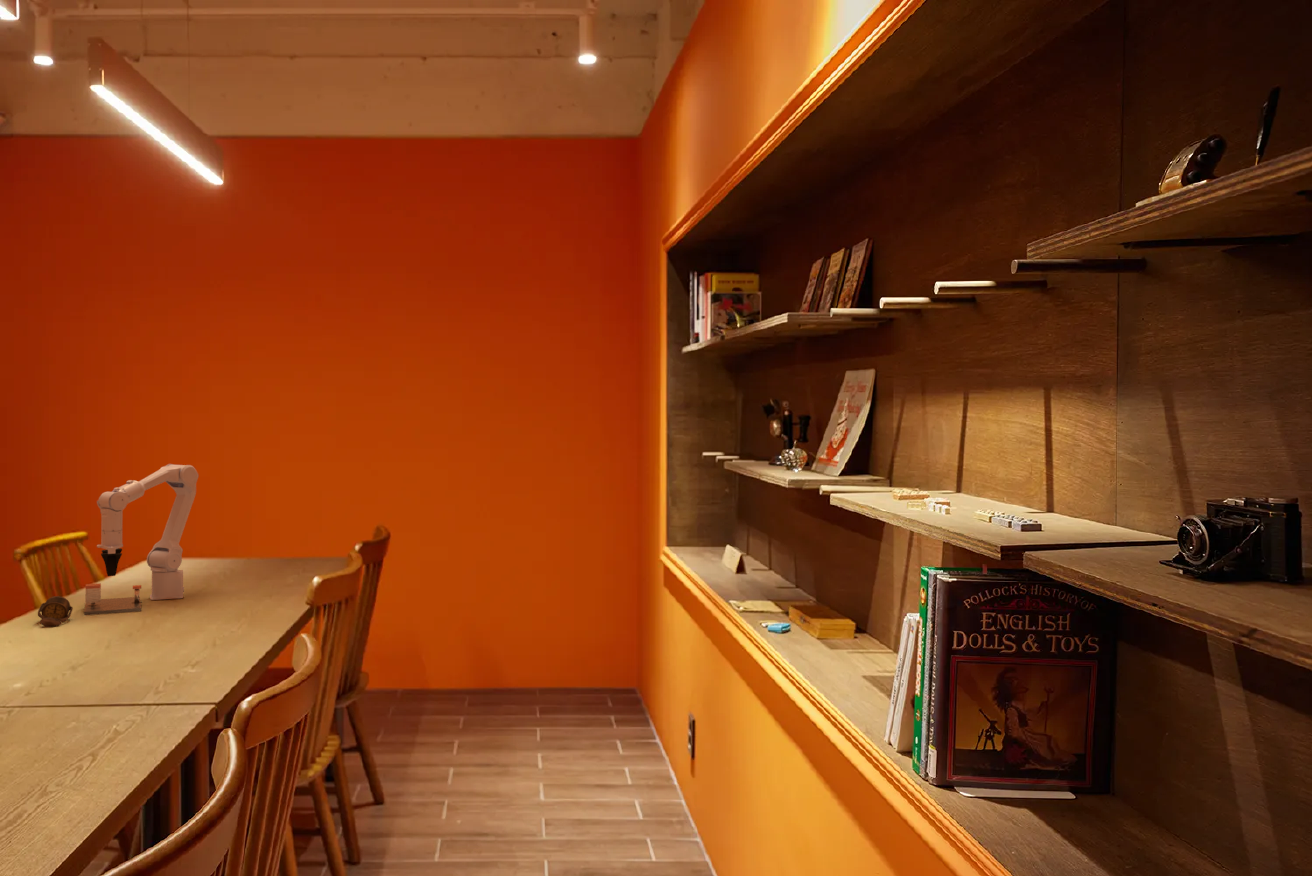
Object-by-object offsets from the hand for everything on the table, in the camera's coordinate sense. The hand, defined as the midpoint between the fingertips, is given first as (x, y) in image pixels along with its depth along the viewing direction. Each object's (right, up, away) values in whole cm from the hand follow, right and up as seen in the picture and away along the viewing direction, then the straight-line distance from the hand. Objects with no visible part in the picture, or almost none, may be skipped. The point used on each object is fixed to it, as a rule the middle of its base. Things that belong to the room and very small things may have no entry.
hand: (111, 574), depth 301 cm
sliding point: (-4, -9, -2) cm, 10 cm away
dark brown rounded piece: (-4, -11, -23) cm, 26 cm away
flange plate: (0, -10, 0) cm, 10 cm away
